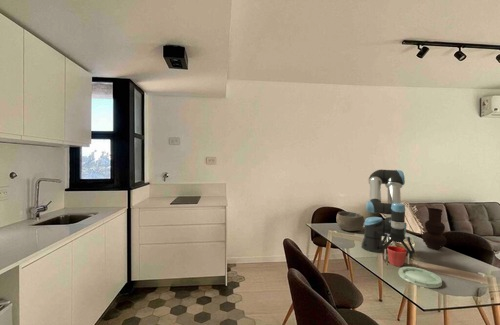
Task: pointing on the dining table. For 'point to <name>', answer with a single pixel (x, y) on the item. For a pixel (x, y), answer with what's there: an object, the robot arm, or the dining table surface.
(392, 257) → the flower pot
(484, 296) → the dining table surface
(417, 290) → the dining table surface
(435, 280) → the round tray
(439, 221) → the vase
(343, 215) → the bowl
